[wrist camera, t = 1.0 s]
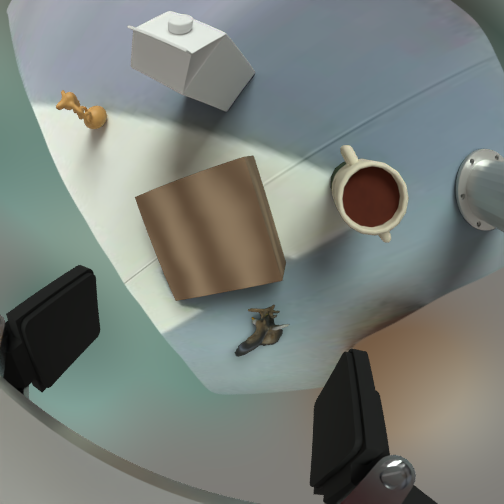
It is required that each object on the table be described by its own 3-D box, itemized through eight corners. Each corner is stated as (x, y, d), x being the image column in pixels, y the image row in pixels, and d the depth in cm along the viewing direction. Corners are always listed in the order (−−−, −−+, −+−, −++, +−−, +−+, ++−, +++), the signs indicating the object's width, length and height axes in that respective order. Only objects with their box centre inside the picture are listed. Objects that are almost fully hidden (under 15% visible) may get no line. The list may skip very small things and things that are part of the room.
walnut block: (253, 155, 37) (244, 156, 32) (285, 262, 42) (282, 280, 36) (155, 190, 42) (134, 197, 36) (190, 283, 46) (175, 300, 41)
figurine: (84, 114, 39) (34, 114, 28) (102, 86, 37) (52, 79, 26) (109, 141, 40) (58, 145, 29) (129, 111, 38) (78, 107, 27)
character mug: (311, 157, 36) (313, 161, 24) (357, 135, 34) (382, 129, 22) (346, 228, 38) (362, 264, 27) (390, 207, 36) (424, 235, 24)
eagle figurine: (237, 297, 44) (226, 345, 46) (257, 319, 38) (242, 371, 40) (279, 299, 48) (266, 344, 49) (302, 318, 41) (285, 367, 43)
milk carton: (227, 112, 36) (161, 88, 18) (188, 89, 35) (106, 59, 18) (256, 72, 33) (213, 16, 16) (215, 50, 33) (150, -6, 15)
